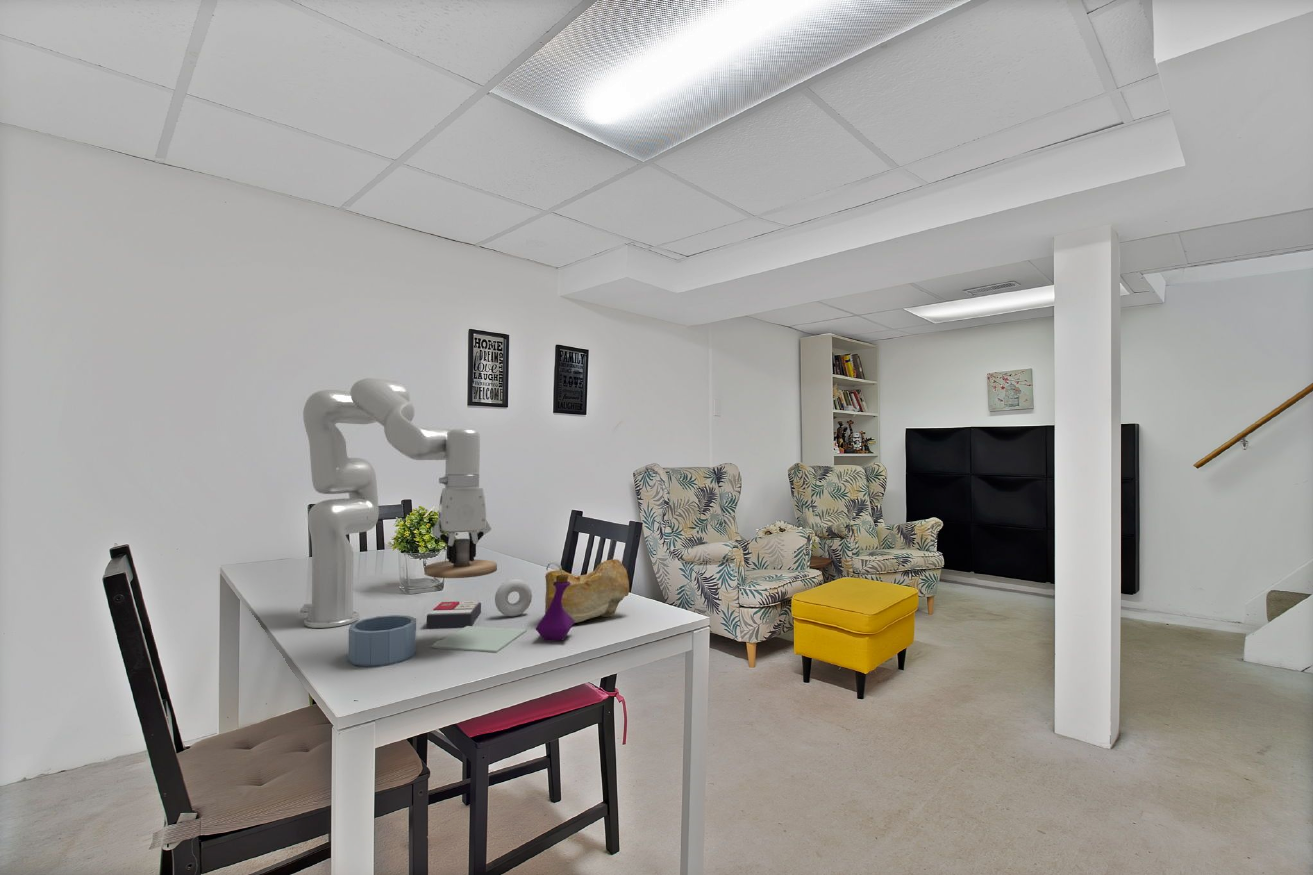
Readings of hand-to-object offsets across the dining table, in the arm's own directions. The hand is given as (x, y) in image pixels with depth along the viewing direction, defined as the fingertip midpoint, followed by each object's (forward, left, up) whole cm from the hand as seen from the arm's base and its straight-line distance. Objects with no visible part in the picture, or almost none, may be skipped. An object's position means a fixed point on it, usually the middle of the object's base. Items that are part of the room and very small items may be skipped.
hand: (461, 560), depth 140 cm
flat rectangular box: (-11, +17, -19) cm, 28 cm away
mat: (+3, +3, -19) cm, 19 cm away
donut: (+2, +23, -19) cm, 30 cm away
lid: (0, 0, -2) cm, 2 cm away
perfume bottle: (+20, +7, -19) cm, 29 cm away
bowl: (-12, -12, -19) cm, 25 cm away
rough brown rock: (+20, +27, -19) cm, 39 cm away
